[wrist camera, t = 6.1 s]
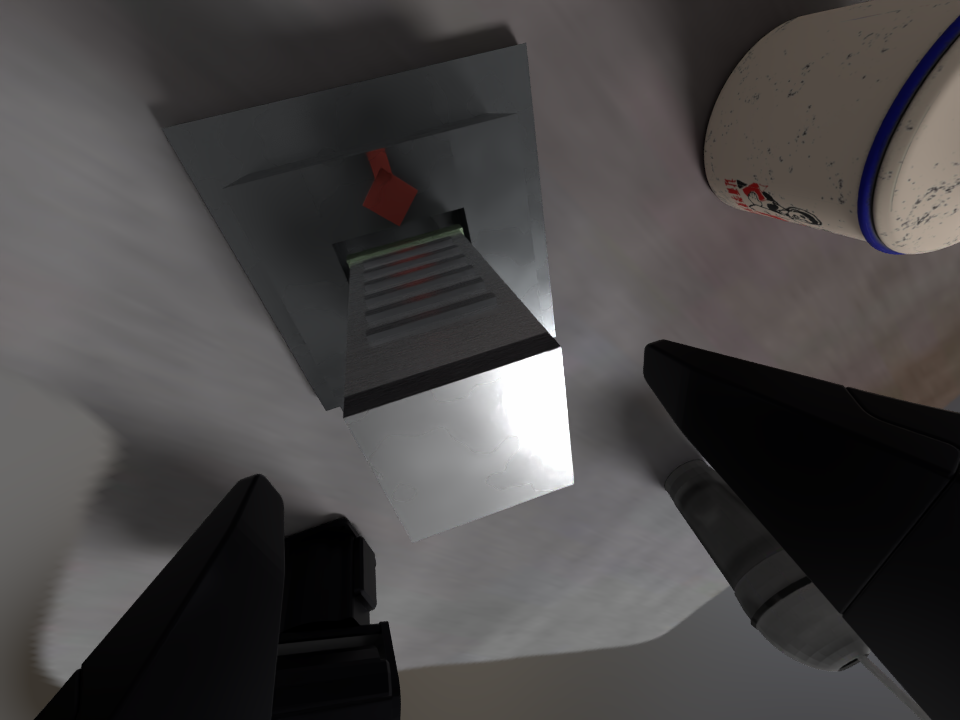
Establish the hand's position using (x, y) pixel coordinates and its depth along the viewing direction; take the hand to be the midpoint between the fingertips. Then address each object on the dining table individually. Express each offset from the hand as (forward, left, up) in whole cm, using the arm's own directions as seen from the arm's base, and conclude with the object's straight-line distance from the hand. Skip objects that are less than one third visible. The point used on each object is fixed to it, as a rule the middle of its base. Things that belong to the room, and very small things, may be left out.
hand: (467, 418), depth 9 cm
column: (0, 0, -9) cm, 9 cm away
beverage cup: (+19, -28, -13) cm, 36 cm away
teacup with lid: (+22, +1, -13) cm, 26 cm away
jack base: (0, 0, -13) cm, 13 cm away
